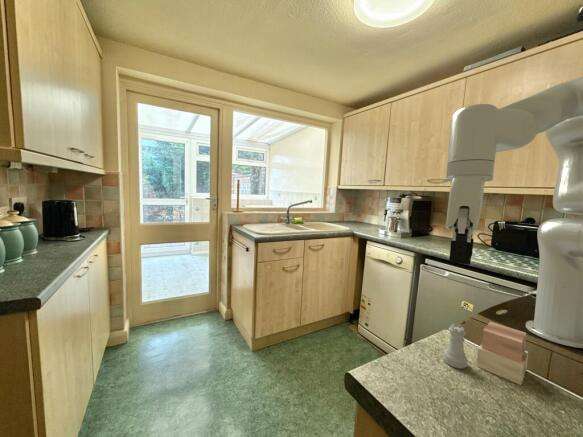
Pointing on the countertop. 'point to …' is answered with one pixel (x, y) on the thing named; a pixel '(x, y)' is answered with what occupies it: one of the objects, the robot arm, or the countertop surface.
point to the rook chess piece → (456, 348)
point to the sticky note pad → (503, 352)
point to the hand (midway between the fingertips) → (461, 259)
